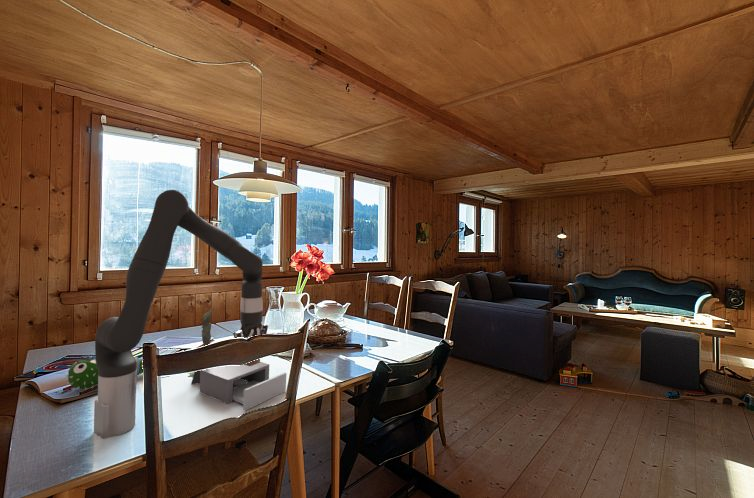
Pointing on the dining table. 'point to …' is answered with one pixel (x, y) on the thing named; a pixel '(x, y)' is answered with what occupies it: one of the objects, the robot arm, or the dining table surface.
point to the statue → (204, 340)
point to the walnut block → (253, 362)
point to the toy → (89, 373)
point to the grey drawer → (259, 391)
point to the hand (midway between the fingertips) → (251, 356)
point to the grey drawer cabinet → (230, 379)
